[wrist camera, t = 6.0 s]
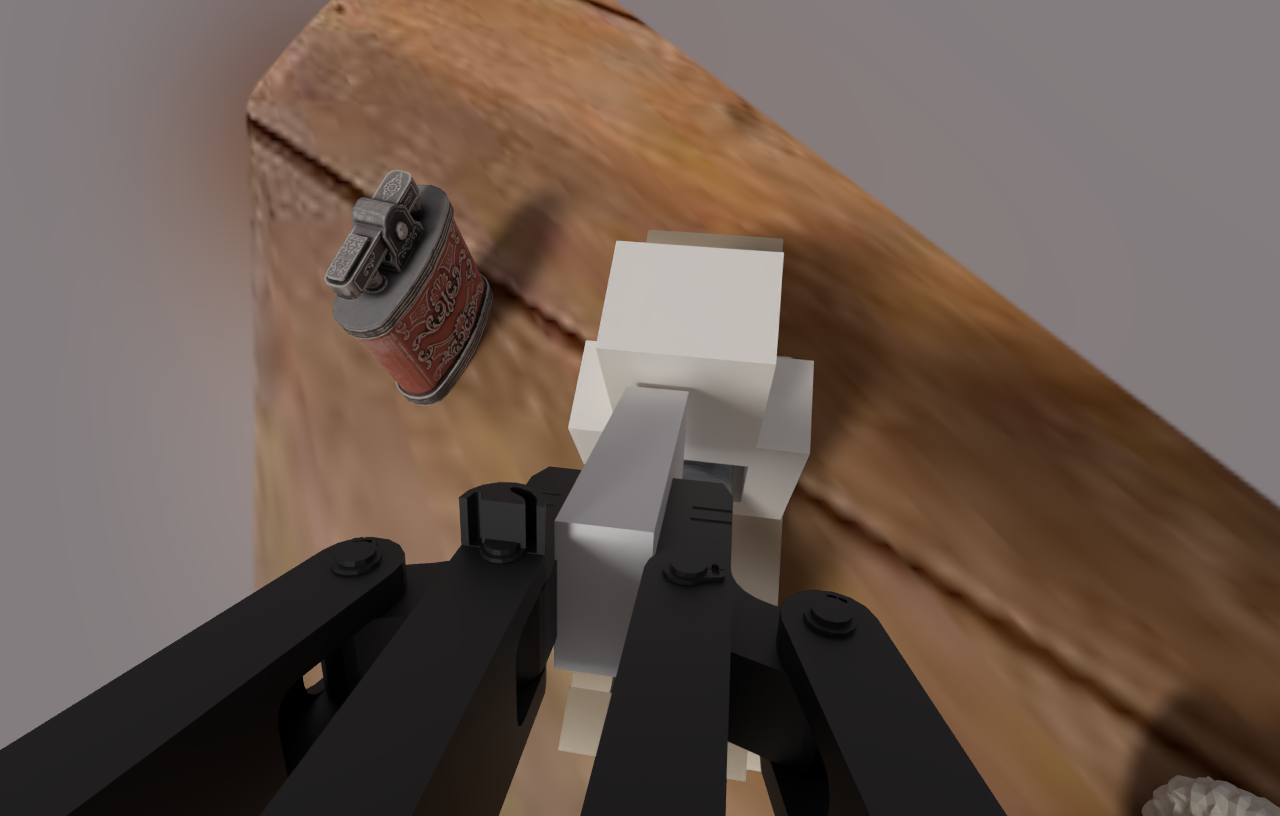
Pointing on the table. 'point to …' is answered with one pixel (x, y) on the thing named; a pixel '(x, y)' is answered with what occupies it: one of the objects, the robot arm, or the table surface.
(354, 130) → the table surface
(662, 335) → the white pipe saddle block
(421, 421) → the table surface
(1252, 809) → the fossil replica
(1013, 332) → the table surface
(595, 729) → the pipe stand
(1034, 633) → the table surface
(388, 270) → the lighter
